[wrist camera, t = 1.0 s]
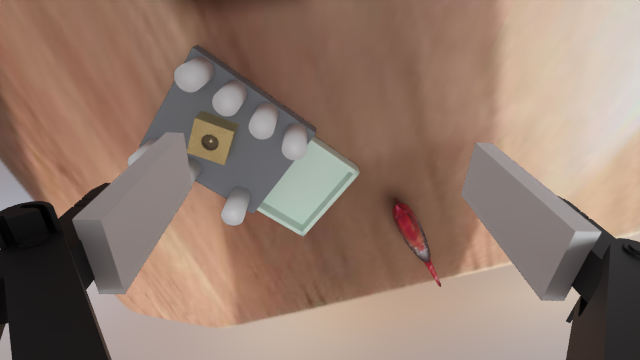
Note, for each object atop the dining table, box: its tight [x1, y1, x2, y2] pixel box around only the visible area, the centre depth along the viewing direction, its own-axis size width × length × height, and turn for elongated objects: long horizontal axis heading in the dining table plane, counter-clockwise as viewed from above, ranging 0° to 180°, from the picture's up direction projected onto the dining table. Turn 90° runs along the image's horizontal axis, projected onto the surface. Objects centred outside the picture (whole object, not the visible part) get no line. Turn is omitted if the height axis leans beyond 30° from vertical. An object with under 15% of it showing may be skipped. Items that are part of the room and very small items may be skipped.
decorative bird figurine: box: [393, 198, 441, 287], centre depth 47 cm, size 3×18×10 cm, turn 29°
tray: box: [257, 136, 360, 236], centre depth 47 cm, size 8×13×2 cm, turn 143°
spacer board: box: [128, 45, 316, 226], centre depth 41 cm, size 17×15×7 cm
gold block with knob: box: [187, 111, 239, 165], centre depth 41 cm, size 5×5×3 cm
